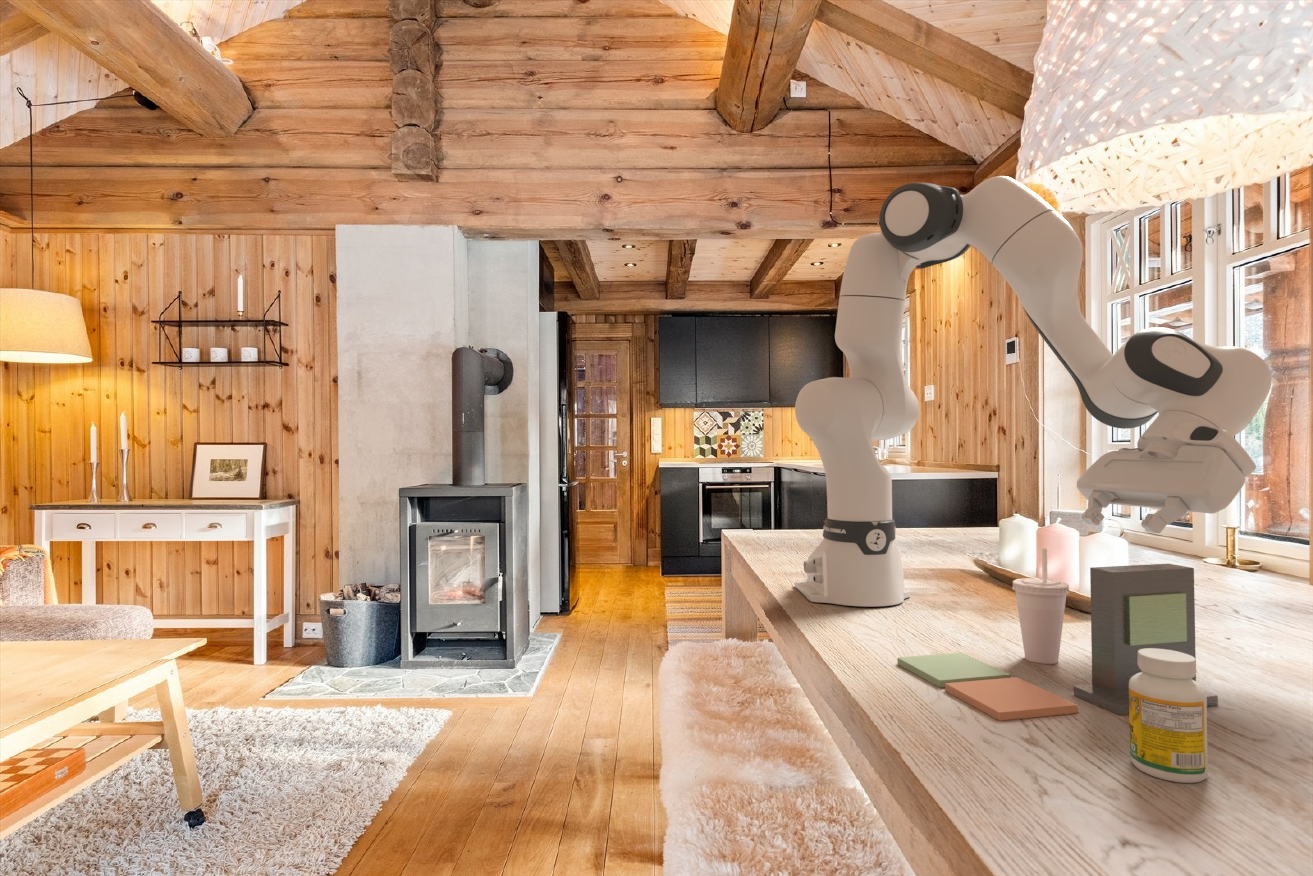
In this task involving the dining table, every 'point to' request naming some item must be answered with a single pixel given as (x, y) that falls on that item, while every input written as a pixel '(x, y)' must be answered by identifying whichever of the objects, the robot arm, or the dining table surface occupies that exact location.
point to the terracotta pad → (1010, 698)
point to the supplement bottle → (1168, 717)
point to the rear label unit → (1136, 626)
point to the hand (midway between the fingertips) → (1117, 525)
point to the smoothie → (1041, 615)
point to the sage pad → (950, 668)
